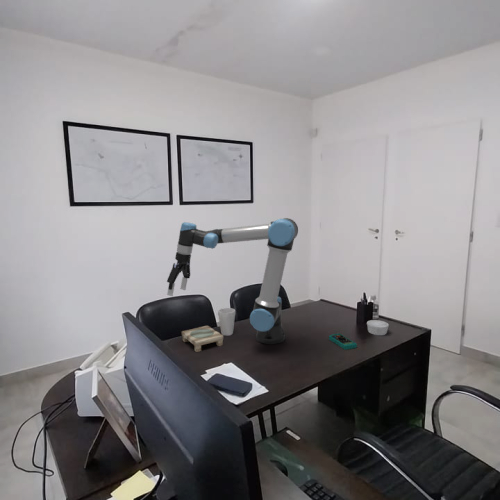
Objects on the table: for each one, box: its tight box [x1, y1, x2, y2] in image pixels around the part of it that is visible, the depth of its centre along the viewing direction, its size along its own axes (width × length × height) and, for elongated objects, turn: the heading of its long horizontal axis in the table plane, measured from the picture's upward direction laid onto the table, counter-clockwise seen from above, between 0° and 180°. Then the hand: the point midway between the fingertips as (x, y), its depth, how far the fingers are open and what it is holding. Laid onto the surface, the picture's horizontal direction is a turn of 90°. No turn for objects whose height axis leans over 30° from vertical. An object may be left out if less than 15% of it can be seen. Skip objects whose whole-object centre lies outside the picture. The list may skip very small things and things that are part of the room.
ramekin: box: [366, 319, 390, 336], centre depth 185 cm, size 11×11×5 cm
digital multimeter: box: [328, 333, 358, 351], centre depth 171 cm, size 7×15×3 cm, turn 19°
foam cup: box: [217, 307, 236, 336], centre depth 186 cm, size 10×9×13 cm
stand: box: [181, 325, 224, 353], centre depth 174 cm, size 18×15×5 cm
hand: (176, 292), depth 175 cm, fingers open, 13 cm apart
